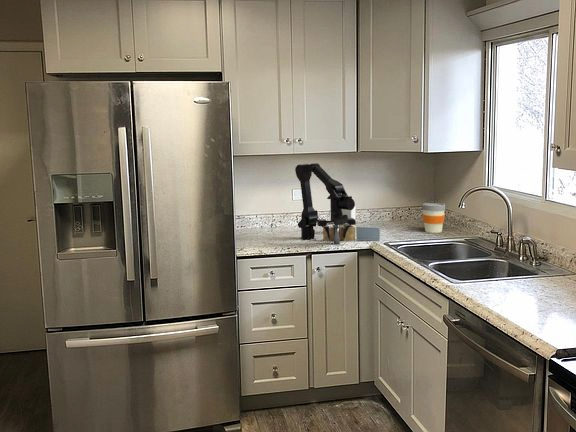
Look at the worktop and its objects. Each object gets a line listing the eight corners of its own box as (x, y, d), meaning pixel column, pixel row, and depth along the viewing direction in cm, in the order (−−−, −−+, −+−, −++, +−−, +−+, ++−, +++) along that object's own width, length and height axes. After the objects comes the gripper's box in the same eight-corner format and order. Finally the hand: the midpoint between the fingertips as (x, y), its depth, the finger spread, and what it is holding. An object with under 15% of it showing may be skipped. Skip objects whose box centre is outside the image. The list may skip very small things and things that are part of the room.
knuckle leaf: (324, 242, 319) (324, 228, 318) (322, 239, 325) (322, 226, 324) (355, 240, 321) (354, 227, 320) (352, 238, 327) (352, 225, 326)
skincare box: (337, 234, 339) (336, 206, 336) (342, 232, 345) (341, 205, 342) (351, 235, 335) (351, 207, 333) (356, 233, 341) (355, 205, 338)
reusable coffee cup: (440, 233, 333) (440, 206, 331) (418, 232, 340) (418, 205, 338) (448, 230, 344) (448, 203, 341) (426, 228, 351) (427, 202, 348)
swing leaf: (356, 239, 322) (356, 227, 321) (356, 239, 323) (356, 226, 322) (379, 240, 318) (379, 227, 317) (379, 240, 319) (379, 227, 318)
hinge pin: (333, 244, 312) (333, 225, 310) (332, 243, 315) (331, 224, 314) (341, 244, 312) (340, 225, 311) (339, 242, 316) (339, 224, 314)
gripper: (320, 211, 302) (321, 242, 304) (358, 209, 304) (358, 241, 307) (316, 208, 313) (317, 238, 315) (352, 206, 315) (353, 236, 318)
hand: (336, 238), depth 313 cm, fingers open, 7 cm apart
